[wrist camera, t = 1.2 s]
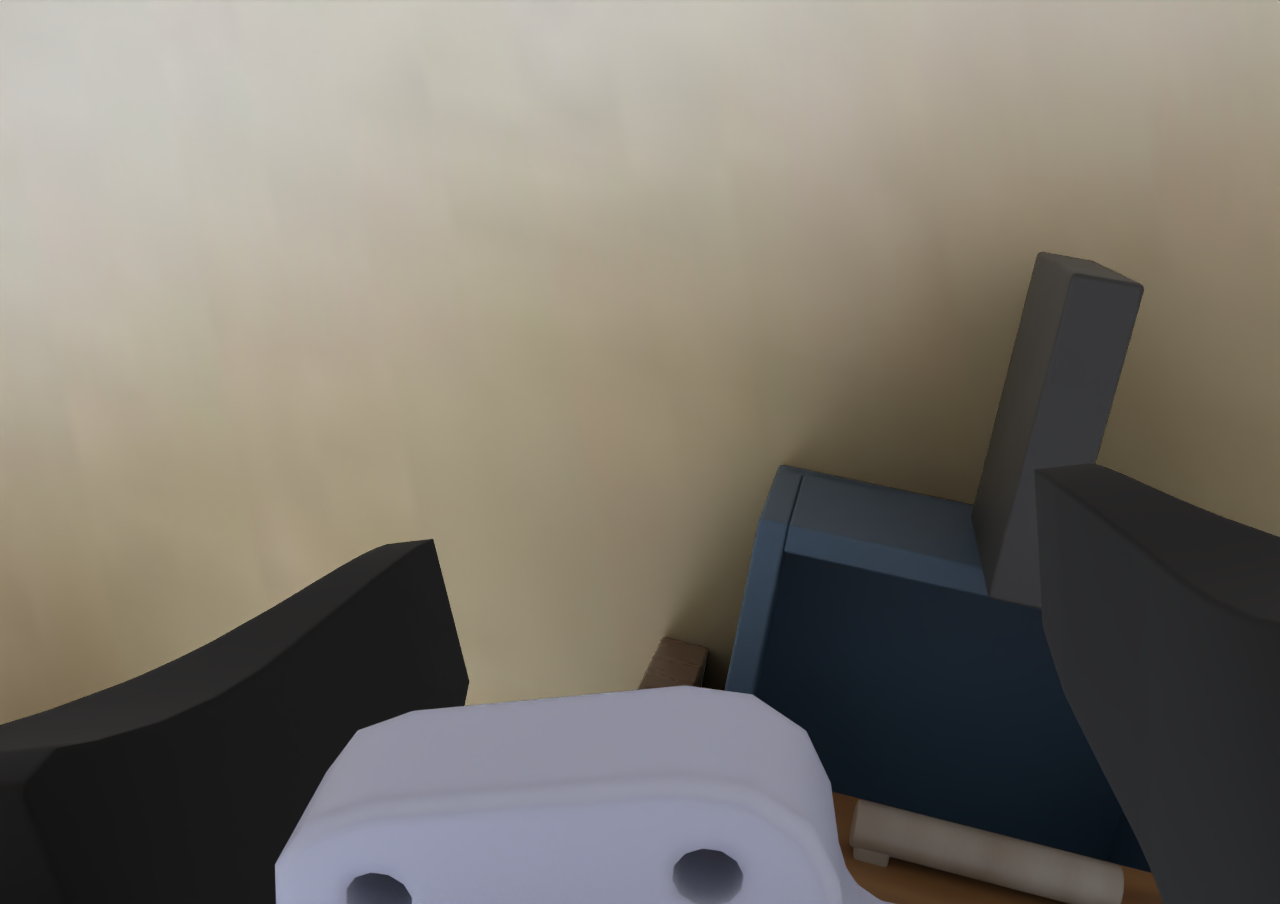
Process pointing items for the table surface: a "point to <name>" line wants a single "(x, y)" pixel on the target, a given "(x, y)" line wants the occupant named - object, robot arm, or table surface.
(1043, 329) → the storage box
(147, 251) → the table surface
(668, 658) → the drawer pedestal
